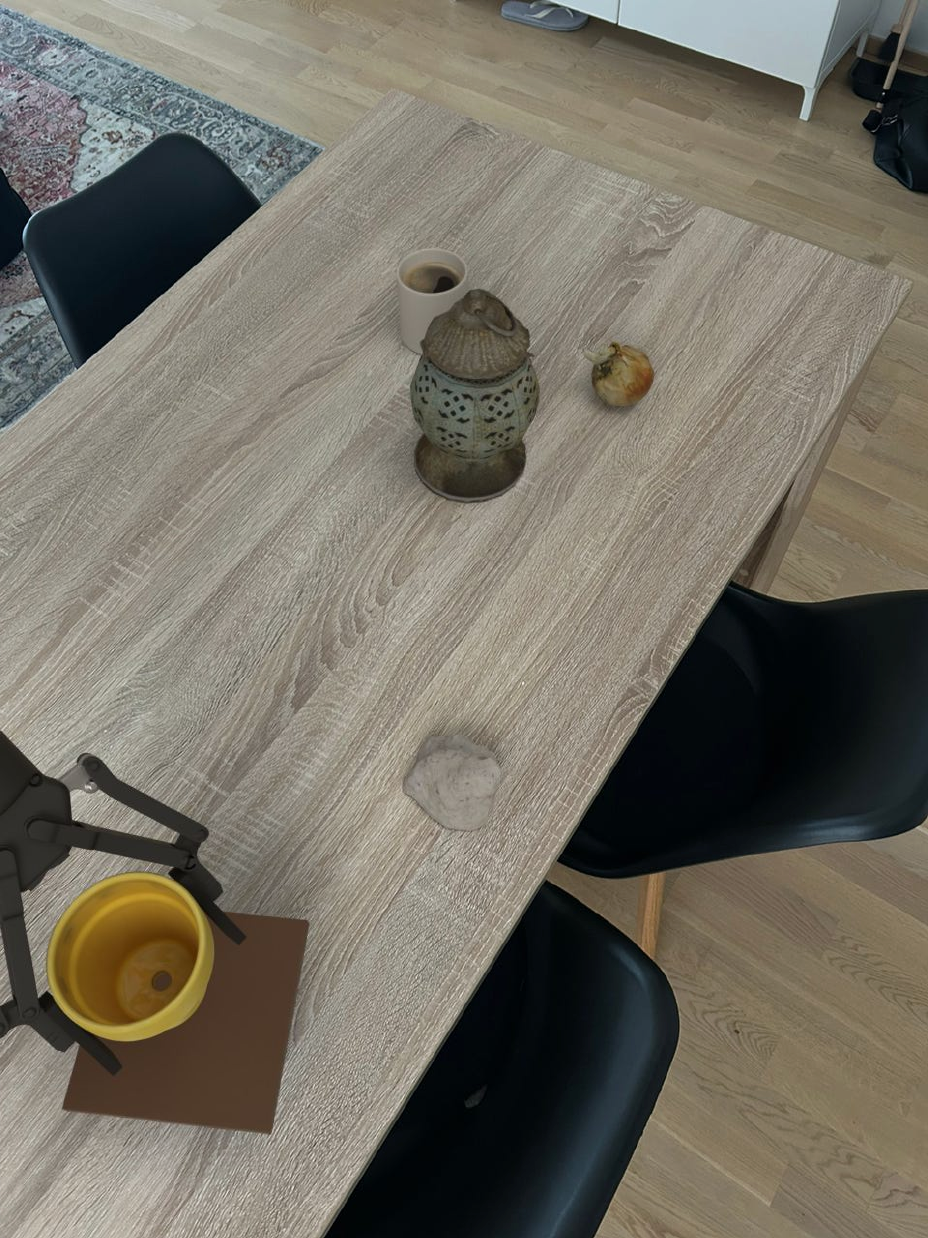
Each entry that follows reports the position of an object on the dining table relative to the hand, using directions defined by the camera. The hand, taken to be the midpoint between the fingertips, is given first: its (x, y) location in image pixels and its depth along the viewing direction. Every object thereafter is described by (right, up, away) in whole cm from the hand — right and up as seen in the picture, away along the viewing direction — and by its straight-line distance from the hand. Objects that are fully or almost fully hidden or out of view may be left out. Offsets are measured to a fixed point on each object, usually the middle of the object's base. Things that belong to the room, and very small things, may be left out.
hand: (176, 998), depth 71 cm
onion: (+39, +54, +59) cm, 89 cm away
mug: (+16, +64, +66) cm, 93 cm away
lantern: (+21, +45, +54) cm, 73 cm away
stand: (-2, -10, +19) cm, 22 cm away
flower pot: (-2, -1, +5) cm, 5 cm away
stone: (+18, +9, +31) cm, 38 cm away
